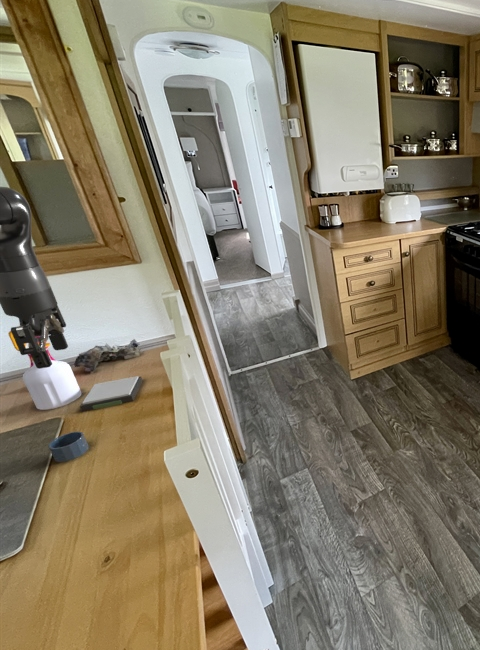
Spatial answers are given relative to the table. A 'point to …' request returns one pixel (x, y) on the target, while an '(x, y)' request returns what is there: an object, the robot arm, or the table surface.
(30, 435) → the table surface
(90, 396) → the scale
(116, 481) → the table surface
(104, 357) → the foil
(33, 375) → the spray bottle
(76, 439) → the bowl
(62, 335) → the robot arm
